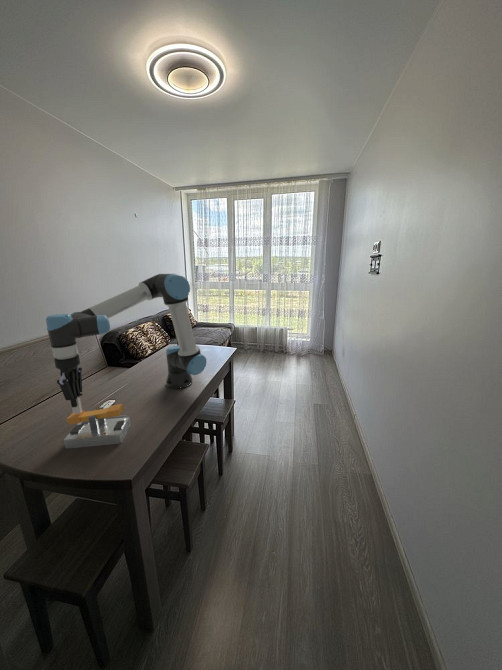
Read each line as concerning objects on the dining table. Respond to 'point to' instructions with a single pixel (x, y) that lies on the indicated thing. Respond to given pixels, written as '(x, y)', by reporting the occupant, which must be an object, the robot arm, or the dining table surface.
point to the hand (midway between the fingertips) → (77, 412)
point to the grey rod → (117, 417)
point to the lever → (96, 414)
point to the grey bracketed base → (98, 432)
